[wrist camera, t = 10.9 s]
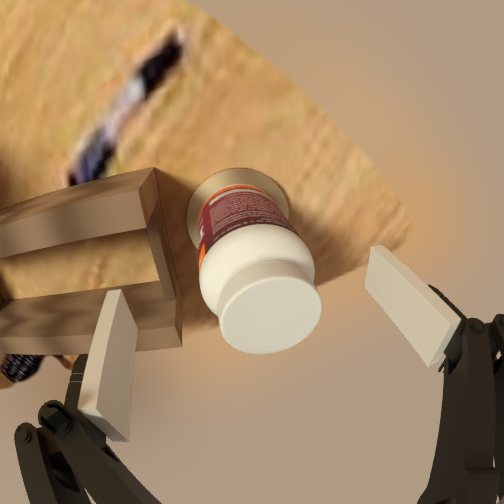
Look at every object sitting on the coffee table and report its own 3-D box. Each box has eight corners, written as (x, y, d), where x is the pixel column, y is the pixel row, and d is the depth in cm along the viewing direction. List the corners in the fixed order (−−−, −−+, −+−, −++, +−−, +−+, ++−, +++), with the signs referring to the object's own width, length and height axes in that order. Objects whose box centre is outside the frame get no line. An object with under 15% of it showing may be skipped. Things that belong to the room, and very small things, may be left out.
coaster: (195, 267, 23) (195, 271, 23) (179, 175, 19) (178, 177, 19) (286, 253, 24) (289, 257, 24) (285, 163, 20) (287, 164, 20)
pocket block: (7, 316, 22) (-12, 352, 16) (-35, 224, 16) (-67, 253, 11) (182, 297, 25) (182, 346, 19) (154, 167, 19) (138, 190, 13)
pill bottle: (182, 203, 20) (173, 298, 10) (260, 168, 20) (322, 233, 10) (217, 267, 23) (236, 377, 14) (286, 237, 23) (346, 332, 13)
